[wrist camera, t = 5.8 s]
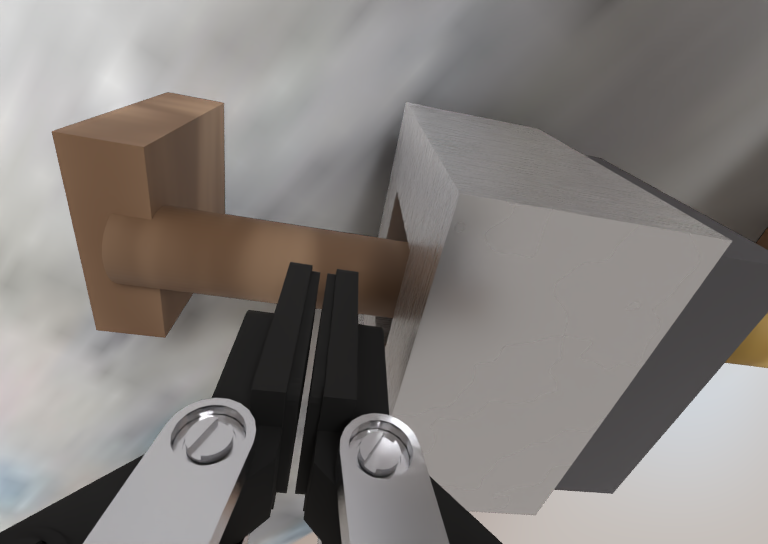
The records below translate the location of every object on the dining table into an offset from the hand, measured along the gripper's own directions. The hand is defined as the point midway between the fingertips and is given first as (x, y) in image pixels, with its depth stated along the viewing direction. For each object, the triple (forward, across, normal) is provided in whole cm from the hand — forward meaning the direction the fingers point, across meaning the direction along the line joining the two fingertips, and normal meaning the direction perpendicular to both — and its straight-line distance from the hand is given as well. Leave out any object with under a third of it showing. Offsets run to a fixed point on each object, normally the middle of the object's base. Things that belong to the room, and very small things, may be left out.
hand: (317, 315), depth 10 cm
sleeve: (+7, -5, 0) cm, 8 cm away
